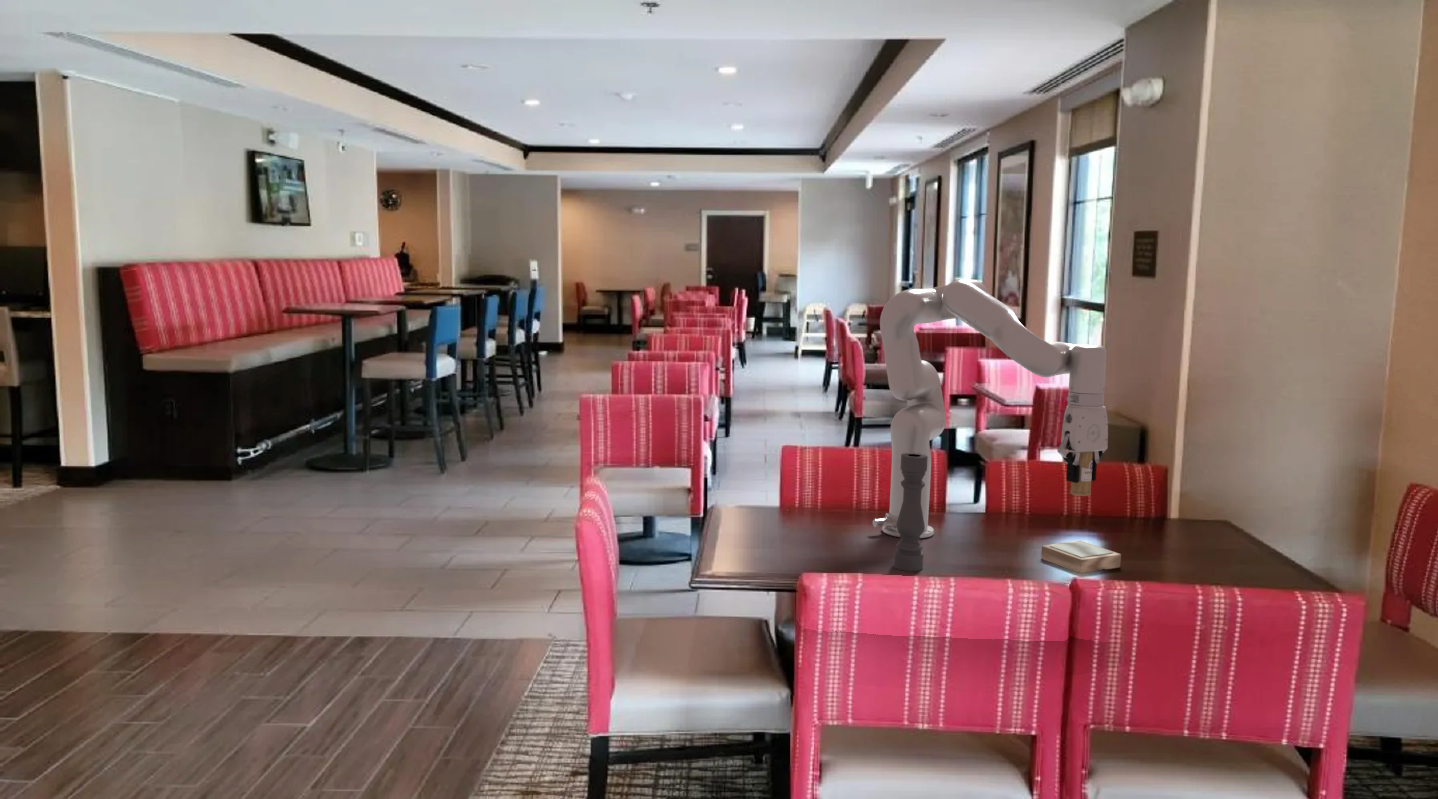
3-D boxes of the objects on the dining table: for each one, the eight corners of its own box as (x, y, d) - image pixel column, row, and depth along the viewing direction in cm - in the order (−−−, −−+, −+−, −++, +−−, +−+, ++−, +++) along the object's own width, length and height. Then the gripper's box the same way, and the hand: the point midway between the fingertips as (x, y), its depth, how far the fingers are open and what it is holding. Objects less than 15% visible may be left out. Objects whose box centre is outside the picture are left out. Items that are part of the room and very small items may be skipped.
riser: (1080, 573, 227) (1081, 559, 226) (1040, 558, 237) (1041, 544, 237) (1120, 567, 232) (1121, 553, 232) (1079, 553, 243) (1080, 539, 242)
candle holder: (891, 563, 231) (896, 452, 227) (918, 563, 231) (924, 452, 228) (898, 571, 225) (904, 458, 221) (926, 571, 225) (932, 458, 222)
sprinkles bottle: (1090, 497, 231) (1094, 437, 229) (1069, 495, 232) (1072, 436, 230) (1091, 493, 235) (1095, 434, 233) (1070, 491, 236) (1073, 433, 235)
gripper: (1070, 404, 224) (1065, 487, 226) (1126, 400, 231) (1121, 480, 234) (1045, 399, 230) (1040, 480, 233) (1100, 396, 238) (1095, 474, 240)
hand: (1081, 479), depth 233 cm, fingers closed on sprinkles bottle, 4 cm apart
